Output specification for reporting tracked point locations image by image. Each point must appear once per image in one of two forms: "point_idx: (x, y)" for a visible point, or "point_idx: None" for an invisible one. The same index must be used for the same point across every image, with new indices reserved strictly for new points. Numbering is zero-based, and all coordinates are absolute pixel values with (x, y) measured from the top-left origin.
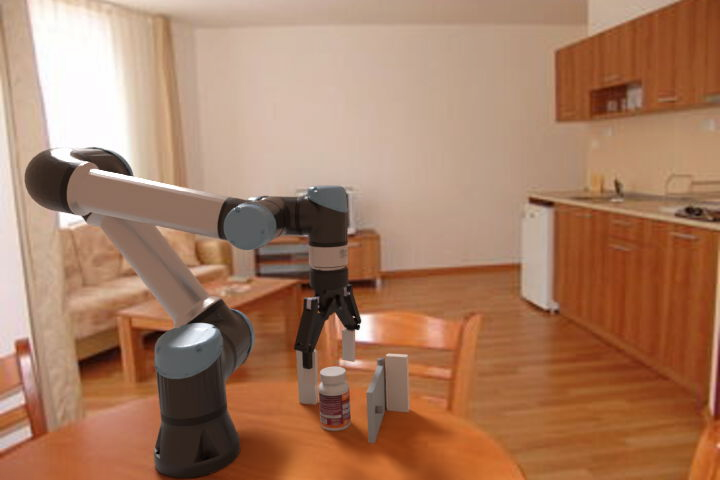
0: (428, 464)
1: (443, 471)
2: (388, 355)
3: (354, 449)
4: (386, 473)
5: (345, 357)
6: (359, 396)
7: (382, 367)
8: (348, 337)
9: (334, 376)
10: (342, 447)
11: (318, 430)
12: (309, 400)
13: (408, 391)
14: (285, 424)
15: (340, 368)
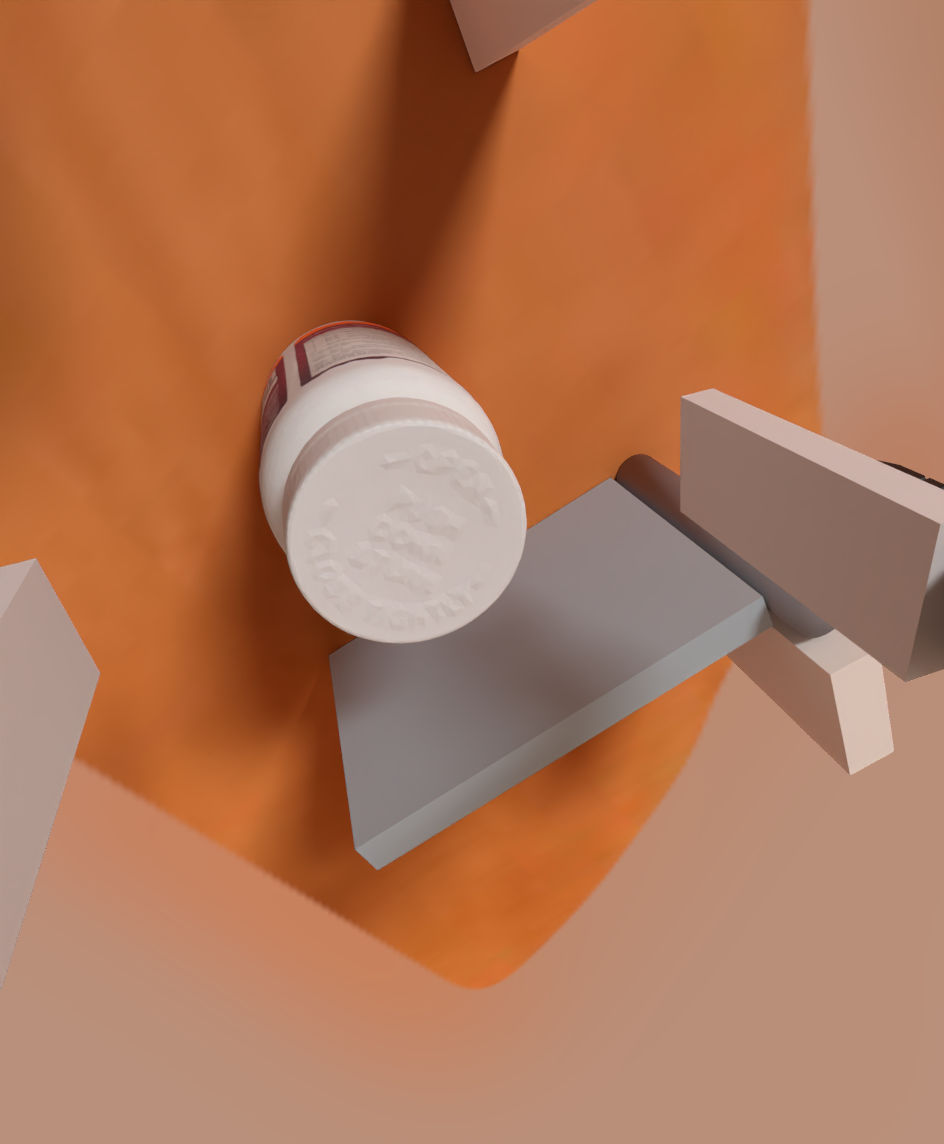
0: (361, 872)
1: (359, 916)
2: (845, 680)
3: (241, 653)
4: (209, 838)
5: (696, 441)
6: (708, 257)
7: (738, 646)
8: (847, 575)
9: (340, 626)
10: (211, 605)
11: (235, 380)
12: (461, 9)
13: None
14: (113, 114)
15: (500, 543)
